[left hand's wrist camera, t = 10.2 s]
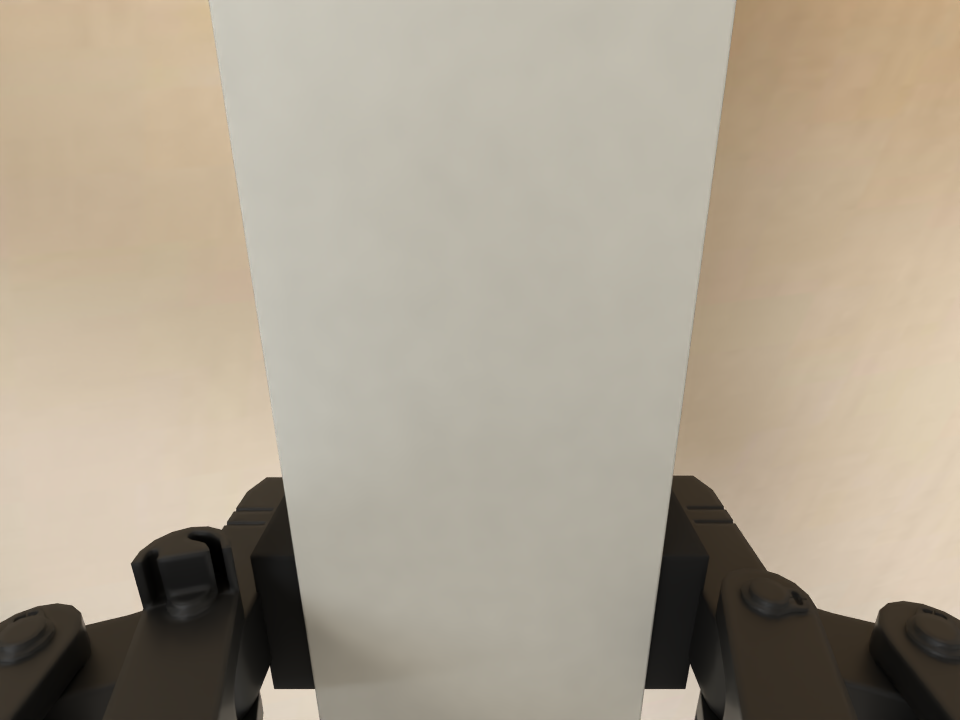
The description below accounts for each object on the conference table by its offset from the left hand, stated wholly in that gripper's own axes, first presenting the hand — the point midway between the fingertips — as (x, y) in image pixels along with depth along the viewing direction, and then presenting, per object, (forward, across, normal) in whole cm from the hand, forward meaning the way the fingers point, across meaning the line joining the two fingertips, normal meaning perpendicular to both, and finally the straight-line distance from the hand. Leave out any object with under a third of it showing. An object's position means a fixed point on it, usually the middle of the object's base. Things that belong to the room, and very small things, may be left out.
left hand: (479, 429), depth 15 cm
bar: (+1, 0, -29) cm, 29 cm away
